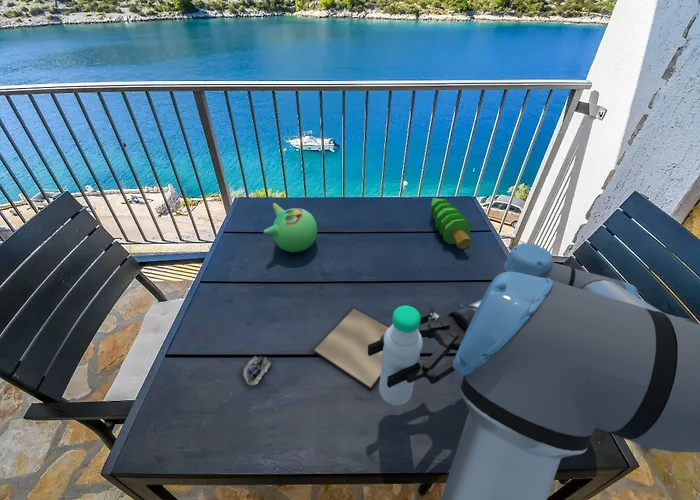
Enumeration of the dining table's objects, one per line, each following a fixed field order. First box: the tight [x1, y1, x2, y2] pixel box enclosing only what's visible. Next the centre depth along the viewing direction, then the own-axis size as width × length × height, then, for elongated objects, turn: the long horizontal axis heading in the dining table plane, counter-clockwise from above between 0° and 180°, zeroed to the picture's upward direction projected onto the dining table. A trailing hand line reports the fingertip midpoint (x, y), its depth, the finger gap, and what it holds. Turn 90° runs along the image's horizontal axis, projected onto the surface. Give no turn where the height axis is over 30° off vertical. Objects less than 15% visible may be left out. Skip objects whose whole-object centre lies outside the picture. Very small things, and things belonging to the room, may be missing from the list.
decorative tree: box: [429, 197, 472, 250], centre depth 133 cm, size 11×12×30 cm
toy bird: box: [263, 202, 318, 253], centre depth 124 cm, size 18×17×15 cm
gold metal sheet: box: [313, 308, 389, 390], centre depth 94 cm, size 18×18×1 cm
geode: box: [242, 355, 272, 387], centre depth 88 cm, size 7×8×2 cm
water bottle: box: [378, 305, 424, 406], centre depth 67 cm, size 7×7×25 cm
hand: (378, 365), depth 65 cm, fingers closed on water bottle, 7 cm apart
